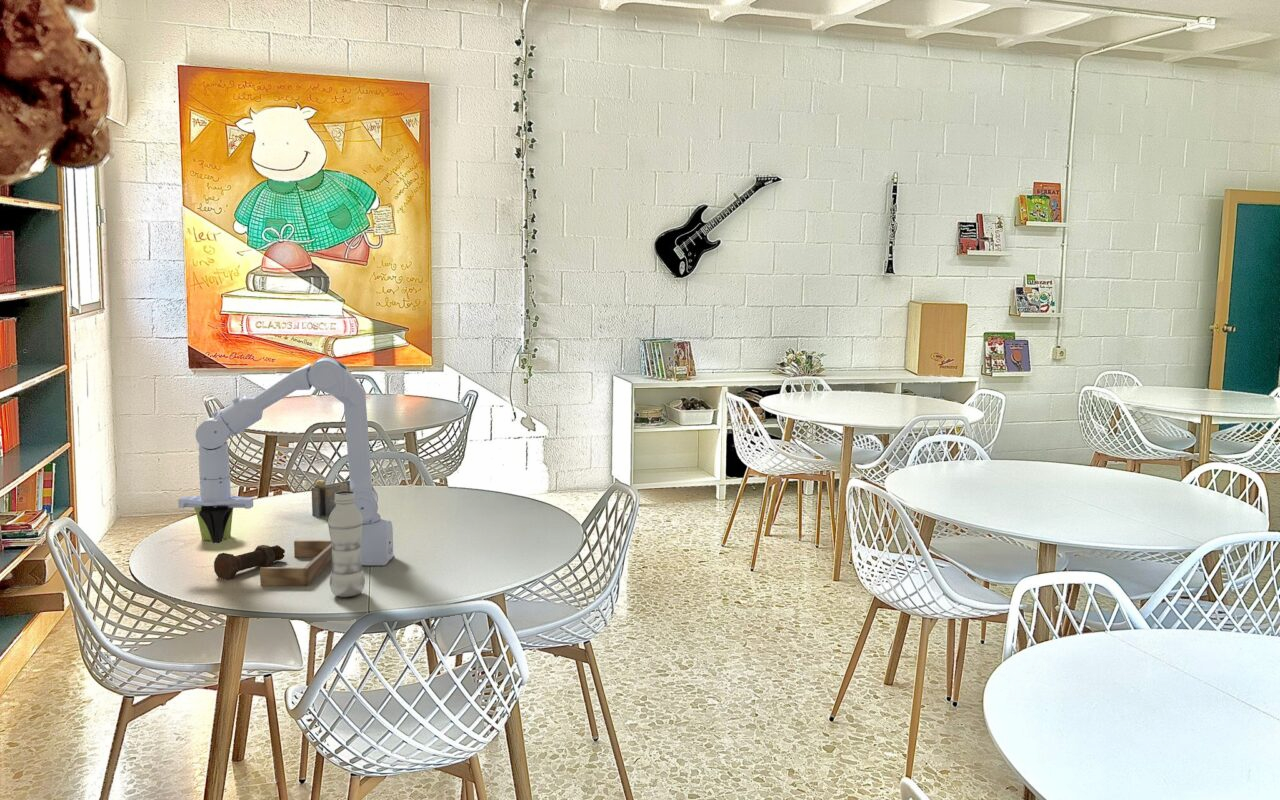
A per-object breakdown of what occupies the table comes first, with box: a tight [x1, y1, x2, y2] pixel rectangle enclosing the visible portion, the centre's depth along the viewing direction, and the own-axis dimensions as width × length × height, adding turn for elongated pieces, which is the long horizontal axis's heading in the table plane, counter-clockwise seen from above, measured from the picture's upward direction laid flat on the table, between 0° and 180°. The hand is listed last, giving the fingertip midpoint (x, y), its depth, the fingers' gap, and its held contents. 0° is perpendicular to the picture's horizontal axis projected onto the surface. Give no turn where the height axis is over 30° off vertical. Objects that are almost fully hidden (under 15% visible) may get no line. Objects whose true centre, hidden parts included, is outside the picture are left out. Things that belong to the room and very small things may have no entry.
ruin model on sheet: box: [310, 479, 350, 518], centre depth 256 cm, size 11×3×10 cm, turn 143°
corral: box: [259, 539, 332, 587], centre depth 207 cm, size 9×21×4 cm, turn 0°
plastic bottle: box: [327, 491, 366, 598], centre depth 190 cm, size 6×7×20 cm
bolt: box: [213, 544, 286, 581], centre depth 207 cm, size 6×5×15 cm
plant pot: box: [193, 507, 234, 542], centre depth 231 cm, size 9×9×9 cm
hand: (217, 542), depth 206 cm, fingers closed
